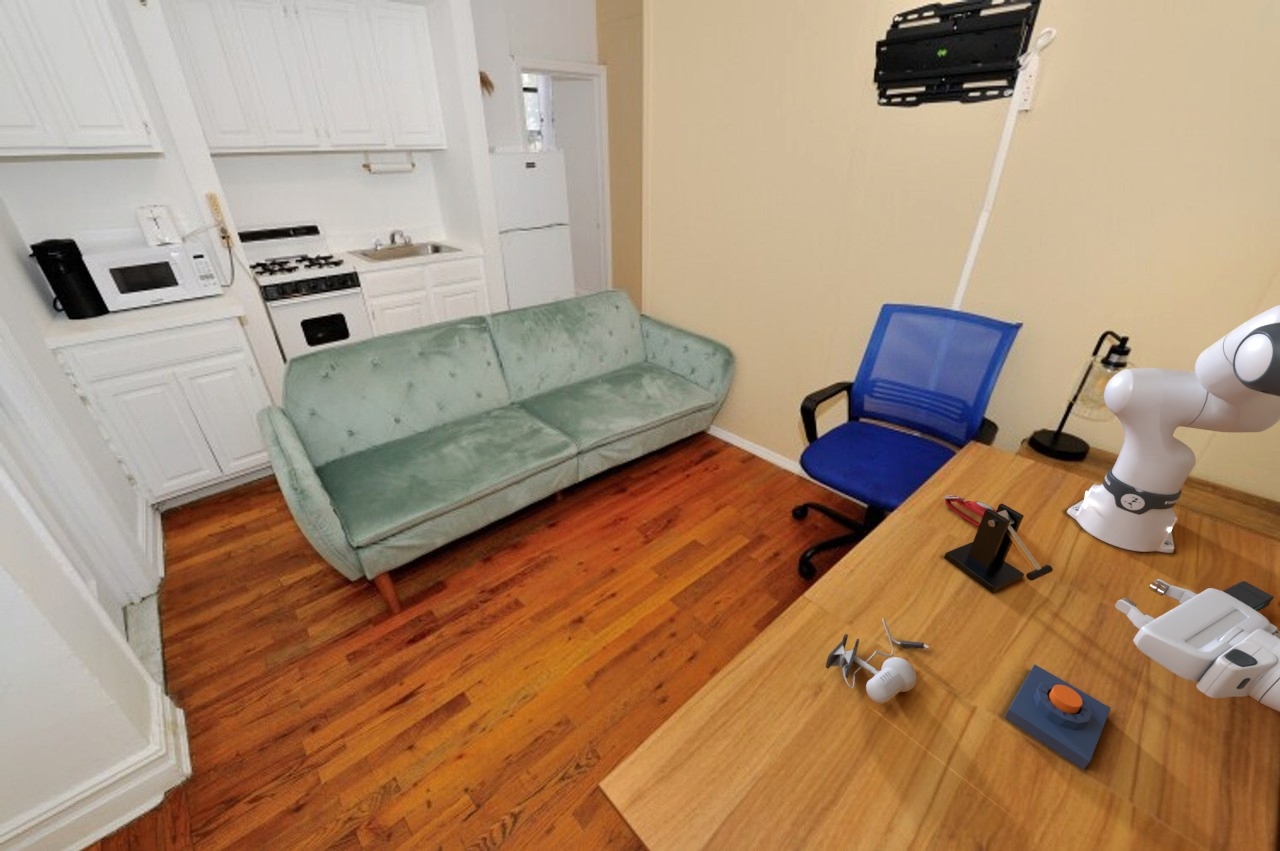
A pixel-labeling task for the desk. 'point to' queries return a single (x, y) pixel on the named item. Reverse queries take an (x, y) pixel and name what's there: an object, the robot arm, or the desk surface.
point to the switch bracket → (989, 551)
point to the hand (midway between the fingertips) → (1136, 592)
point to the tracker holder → (967, 507)
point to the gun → (1250, 595)
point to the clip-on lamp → (885, 682)
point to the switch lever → (1025, 552)
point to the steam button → (1065, 699)
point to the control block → (1058, 718)
